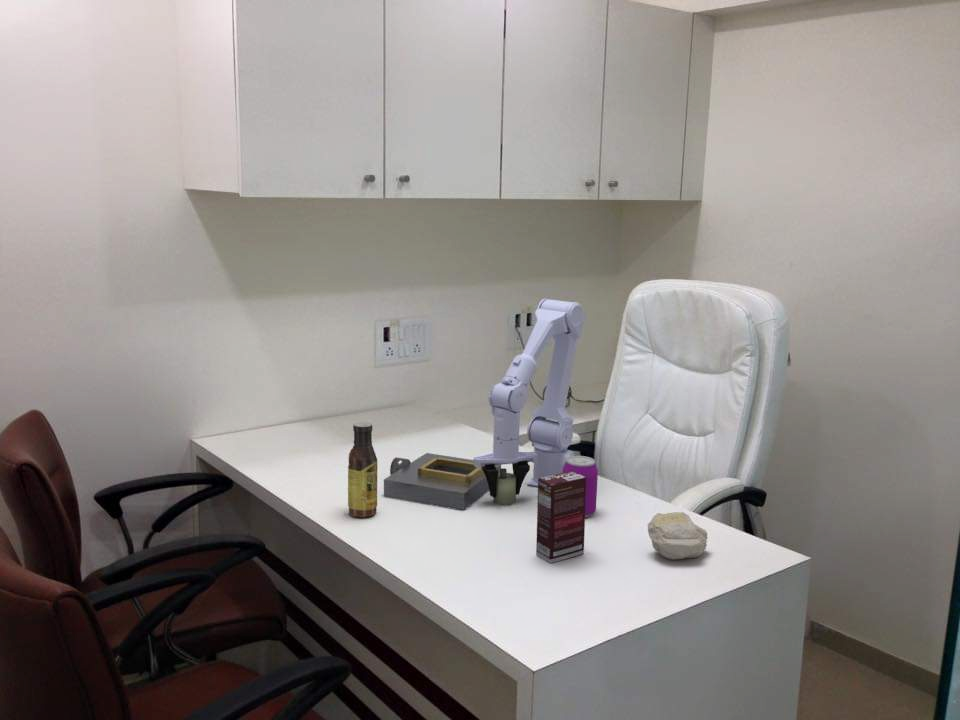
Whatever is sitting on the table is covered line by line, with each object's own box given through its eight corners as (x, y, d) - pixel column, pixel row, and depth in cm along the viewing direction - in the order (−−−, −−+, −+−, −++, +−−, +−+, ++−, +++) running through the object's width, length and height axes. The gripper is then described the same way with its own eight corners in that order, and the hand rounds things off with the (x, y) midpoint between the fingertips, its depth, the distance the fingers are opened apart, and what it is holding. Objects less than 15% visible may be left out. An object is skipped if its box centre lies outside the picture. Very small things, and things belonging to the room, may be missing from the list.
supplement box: (568, 545, 173) (572, 469, 170) (584, 554, 169) (588, 476, 166) (534, 555, 168) (536, 477, 165) (549, 564, 164) (552, 484, 161)
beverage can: (598, 508, 193) (600, 456, 191) (593, 521, 186) (595, 467, 183) (564, 504, 195) (566, 453, 193) (557, 516, 188) (560, 463, 185)
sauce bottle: (371, 520, 183) (371, 429, 179) (343, 517, 185) (342, 427, 181) (381, 509, 190) (381, 421, 186) (354, 506, 191) (353, 419, 187)
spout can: (518, 499, 197) (519, 466, 196) (510, 507, 193) (511, 472, 191) (498, 496, 199) (499, 463, 198) (489, 503, 195) (490, 469, 193)
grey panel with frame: (500, 480, 210) (501, 458, 209) (464, 510, 190) (464, 486, 189) (415, 466, 219) (415, 445, 217) (372, 494, 199) (372, 471, 198)
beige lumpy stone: (717, 557, 170) (675, 545, 177) (719, 515, 169) (677, 504, 176) (680, 569, 162) (638, 556, 169) (682, 525, 161) (639, 514, 168)
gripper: (529, 429, 199) (527, 485, 202) (469, 434, 194) (468, 491, 197) (541, 438, 193) (539, 496, 195) (480, 443, 188) (478, 502, 190)
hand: (504, 494), depth 196 cm, fingers closed on spout can, 5 cm apart
